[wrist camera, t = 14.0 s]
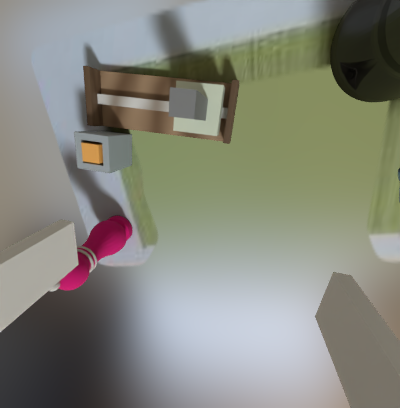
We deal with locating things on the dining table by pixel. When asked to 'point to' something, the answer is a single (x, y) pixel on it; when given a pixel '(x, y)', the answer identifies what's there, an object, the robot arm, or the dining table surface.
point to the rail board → (145, 103)
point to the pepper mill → (96, 250)
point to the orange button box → (106, 150)
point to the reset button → (92, 152)
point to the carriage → (196, 107)
